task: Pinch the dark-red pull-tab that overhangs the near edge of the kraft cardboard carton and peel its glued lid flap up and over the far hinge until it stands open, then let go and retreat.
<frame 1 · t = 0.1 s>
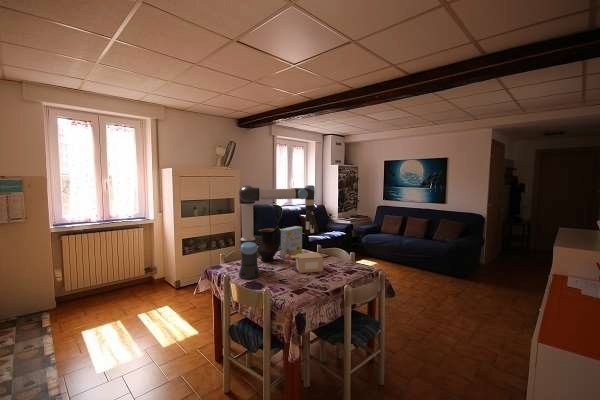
hand: (309, 231, 229), 28 cm above the table, fingers open, 13 cm apart
jug: (268, 261, 242), on the table
snack box: (291, 256, 257), on the table
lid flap: (303, 256, 220), point 10 cm above the table, hinge at 0.0°
carton: (309, 268, 222), on the table
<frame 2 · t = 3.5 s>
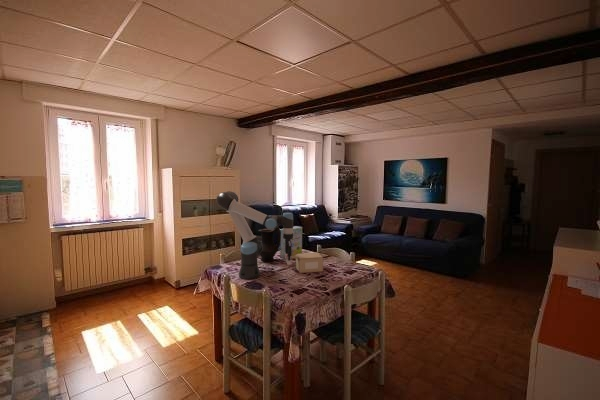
hand: (288, 263, 217), 6 cm above the table, fingers closed on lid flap, 5 cm apart
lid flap: (303, 256, 220), point 10 cm above the table, hinge at 0.0°, touching gripper
everything else where it was.
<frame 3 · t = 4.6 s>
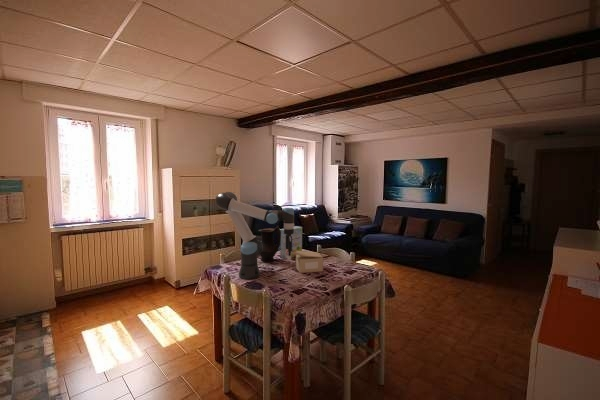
hand: (288, 258, 217), 9 cm above the table, fingers closed on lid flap, 5 cm apart
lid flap: (303, 253, 220), point 12 cm above the table, hinge at 8.0°, touching gripper
everything else where it was.
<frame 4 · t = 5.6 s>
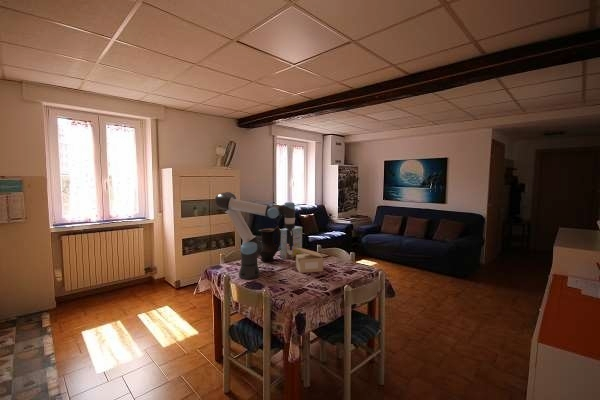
hand: (289, 253, 217), 13 cm above the table, fingers closed on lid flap, 5 cm apart
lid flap: (303, 250, 220), point 15 cm above the table, hinge at 17.4°, touching gripper
everything else where it was.
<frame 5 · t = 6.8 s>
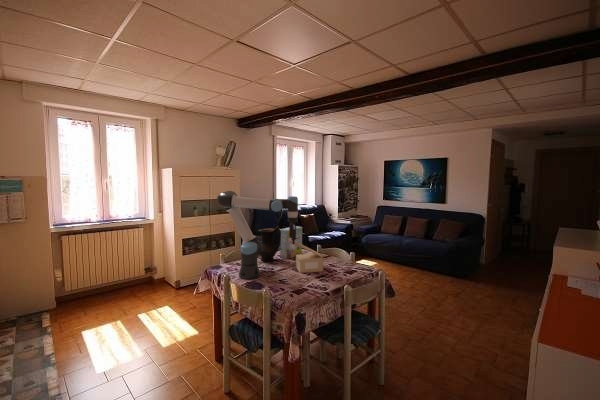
hand: (292, 247, 217), 18 cm above the table, fingers closed on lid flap, 5 cm apart
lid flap: (305, 247, 220), point 17 cm above the table, hinge at 28.5°, touching gripper
everything else where it was.
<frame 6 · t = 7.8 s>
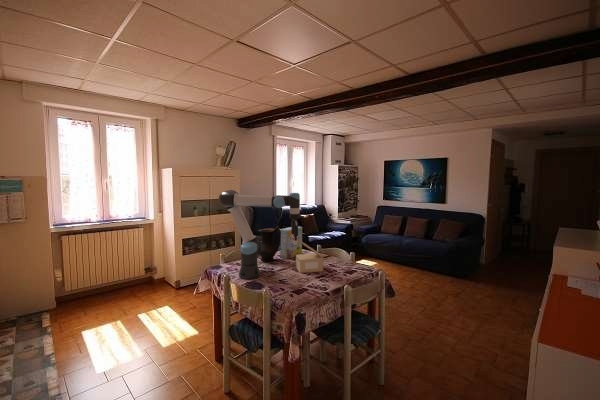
hand: (294, 243, 217), 21 cm above the table, fingers closed on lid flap, 5 cm apart
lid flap: (306, 245, 220), point 18 cm above the table, hinge at 35.6°, touching gripper
everything else where it was.
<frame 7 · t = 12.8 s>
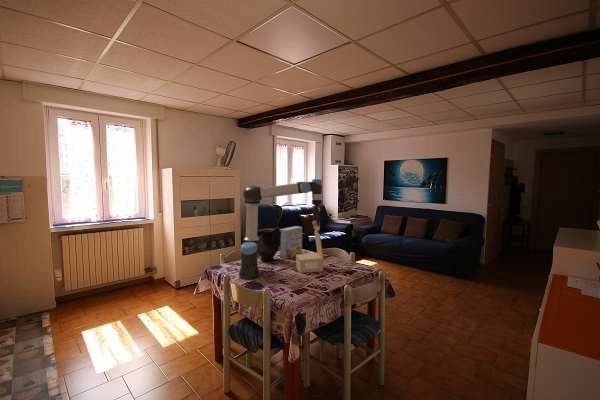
hand: (316, 229, 220), 31 cm above the table, fingers closed on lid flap, 5 cm apart
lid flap: (317, 238, 221), point 24 cm above the table, hinge at 81.0°, touching gripper
everything else where it was.
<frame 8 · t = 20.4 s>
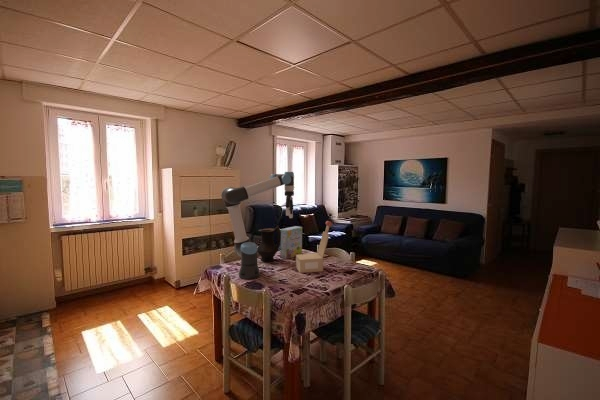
hand: (289, 216, 233), 39 cm above the table, fingers open, 13 cm apart
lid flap: (324, 238, 223), point 24 cm above the table, hinge at 105.2°
everything else where it was.
at the end: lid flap at +105° (first picture: +0°); the gripper is holding nothing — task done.
